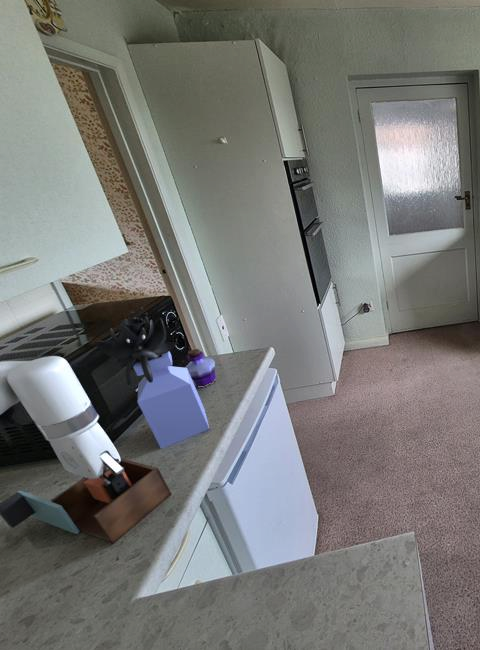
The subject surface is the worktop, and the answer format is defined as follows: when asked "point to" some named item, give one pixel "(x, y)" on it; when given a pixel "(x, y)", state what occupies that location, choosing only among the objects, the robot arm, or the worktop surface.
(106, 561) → the worktop surface
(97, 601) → the worktop surface
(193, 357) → the potion bottle
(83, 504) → the crate
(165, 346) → the vase
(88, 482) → the block
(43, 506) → the light blue flat panel
